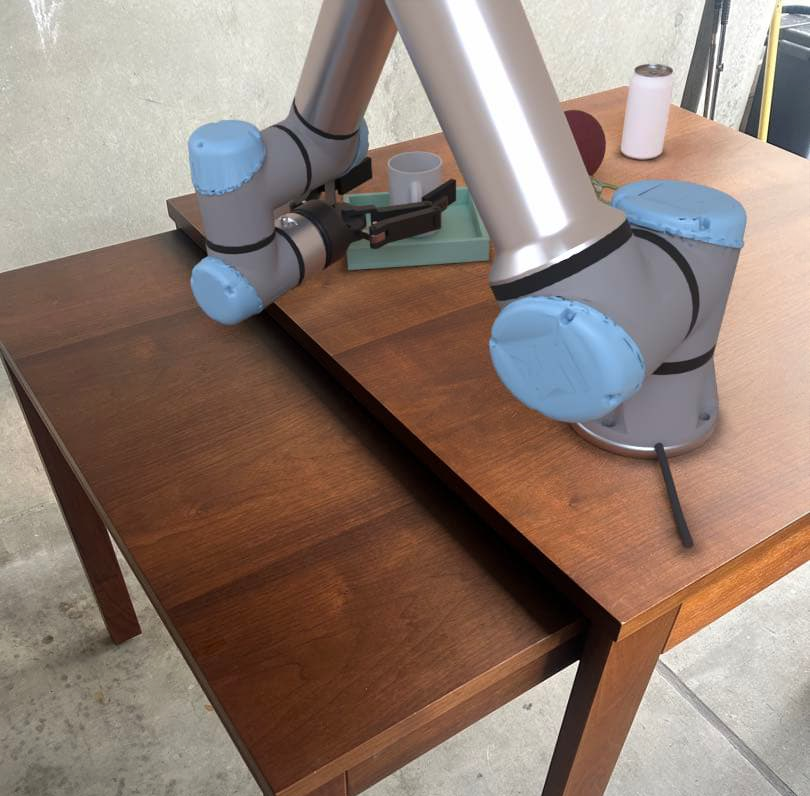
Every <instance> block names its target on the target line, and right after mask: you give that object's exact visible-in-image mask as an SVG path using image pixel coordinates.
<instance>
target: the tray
mask: <svg viewBox="0 0 810 796" xmlns="http://www.w3.org/2000/svg"><path fill="white" fill-rule="evenodd" d="M342 197H343V202H346V203H349V204H350V205H353V206H365V205H375V206H376V207H377V208H380V207H387V206H390V204H389V191H378V192H364V193H361V192H360V193H348V194H347V193H346V194H344V195H342ZM366 221H367V225H366V227H367V228H369V227H370V226H371V218H370V213H368V214H366ZM490 242H491V240H490V238H489V235H488V233H487V231H486V228H485V226H484V224H483V222H482V219H481V217H480V215H479V213H478V210H477V208H476V206H475V204H474V201H473V199H472V197H471V195H470V192H469V190H468V188H467V185H466V186H456V201H455V202H454V203H452V204H451V205H449V206H448V207H447V209H446V210H445V211H443V222H442V227H441V229H440V230H439V232H437V233H436V234H435V235H432V236H430V237H426V238H419V239H411V238H406V239H402V240H398V241H395V242H391V243H388V244H386V245H384V246H382V247H380V248H378V249H371V248H370V241H368V240H365V239H362V240H360V241H356V242H353V243H351V244H350V246H349V247H348V249H347V251H346V260H347V270H348V271H357V270H371V269H372V270H374V269H387V268H400V267H402V268H403V267H414V266H415V267H417V266H430V265H431V266H432V265H444V264H460V263H474V262H487V261H490Z"/></svg>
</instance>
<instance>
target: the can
mask: <svg viewBox="0 0 810 796" xmlns="http://www.w3.org/2000/svg"><path fill="white" fill-rule="evenodd" d="M633 70H634V72H633V74H632V75H631V77H630V80H629V85H628V91H627V97H626V98H627V99H626V107H625V111H624V112H625V113H624V120H623V129H622V135H621V141H620V151H621V153H622V155H623V156H624V157H626V158H629V159H633V160H640V161H641V160H642V161H645V160H652V159H655V158H657V157H659V156H660V155H661V154H662V153H663V149H664V144H665V138H666V132H667V126H668V120H669V116H670V115H669V114H670V110H671V104H672V98H673V91H674V85H675V84H674V83H675V80H674V76H673V73H674V69H673V68H672V67H671V66H669V65H666V64H661V63H644V64H640V65H637V66H636V67H635V68H634V69H633Z"/></svg>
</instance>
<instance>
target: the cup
mask: <svg viewBox="0 0 810 796" xmlns="http://www.w3.org/2000/svg"><path fill="white" fill-rule="evenodd" d="M443 170H444V169H443V159H442V157H440V156H439V155H438V154H436V153H431V152H428V151H422V150H421V151H416V150H415V151H406V152H401V153H398V154H395V155H393V156H392V157H390V158H389V159H388V160H387V180H388V181H387V182H388V192H389V204H390V206H394V205H401V204H408V203H415V202H422V197H423V196H425V195H426V194H428V193H429V192H431V191H433V190H434V189H436V188H437V187H439V186H440V185H442V184H444V182H443V180H444V179H443ZM442 222H443V212H442V213H441V227H442ZM439 230H440V229H439ZM439 230H435V231H431V232H428V233H424V234H420V235H417V236H413V237H409V238H411V239H419V238H426V237H430V236H432V235H435V234H436V233H437V232H439Z"/></svg>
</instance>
